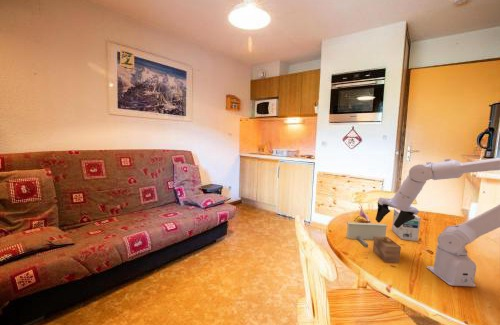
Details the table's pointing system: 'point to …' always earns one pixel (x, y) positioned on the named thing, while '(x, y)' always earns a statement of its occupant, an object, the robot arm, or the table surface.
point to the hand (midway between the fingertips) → (386, 223)
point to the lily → (363, 214)
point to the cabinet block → (386, 249)
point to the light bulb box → (407, 227)
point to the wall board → (365, 231)
